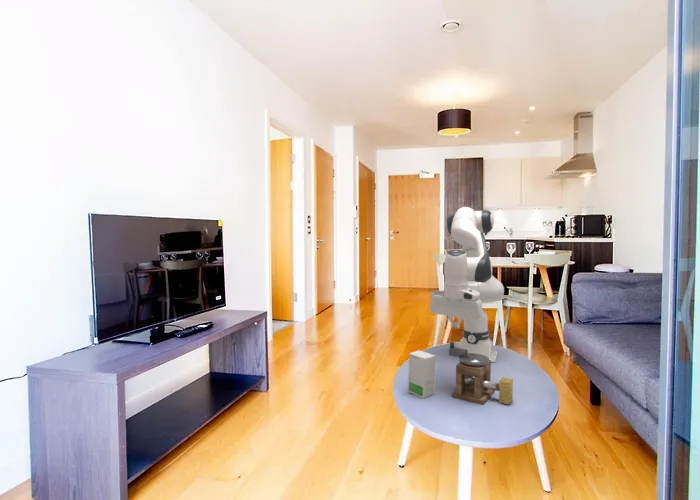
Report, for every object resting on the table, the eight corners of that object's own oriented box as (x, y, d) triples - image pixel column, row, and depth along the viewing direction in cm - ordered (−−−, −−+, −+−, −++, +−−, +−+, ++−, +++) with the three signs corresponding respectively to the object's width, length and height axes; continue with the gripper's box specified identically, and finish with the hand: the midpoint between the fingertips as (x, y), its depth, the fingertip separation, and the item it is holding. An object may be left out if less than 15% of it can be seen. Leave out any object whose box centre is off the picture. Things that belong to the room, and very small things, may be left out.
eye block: (464, 385, 164) (464, 354, 163) (494, 391, 157) (495, 360, 156) (451, 397, 152) (451, 364, 152) (483, 405, 146) (483, 371, 145)
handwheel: (493, 361, 154) (494, 347, 154) (480, 368, 146) (480, 353, 146) (457, 352, 165) (457, 339, 165) (442, 359, 157) (442, 345, 157)
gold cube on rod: (460, 388, 160) (460, 368, 159) (512, 400, 148) (512, 379, 148) (456, 392, 156) (456, 371, 156) (509, 404, 145) (509, 383, 144)
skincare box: (407, 392, 158) (407, 353, 157) (418, 387, 162) (418, 349, 161) (424, 399, 151) (424, 358, 150) (435, 394, 155) (435, 354, 154)
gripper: (427, 290, 159) (427, 325, 160) (479, 296, 147) (478, 333, 148) (433, 288, 164) (433, 321, 165) (484, 293, 152) (483, 329, 153)
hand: (455, 327), depth 157 cm, fingers closed
